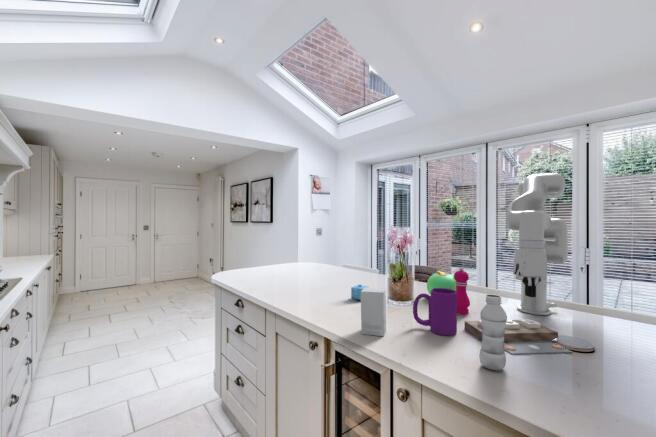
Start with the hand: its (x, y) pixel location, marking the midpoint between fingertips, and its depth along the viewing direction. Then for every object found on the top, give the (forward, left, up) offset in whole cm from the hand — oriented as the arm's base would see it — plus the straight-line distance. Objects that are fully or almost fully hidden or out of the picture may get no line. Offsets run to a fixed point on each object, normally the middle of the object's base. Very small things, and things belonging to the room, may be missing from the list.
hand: (530, 296), depth 111 cm
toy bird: (+10, -46, -14) cm, 49 cm away
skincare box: (+56, -5, -14) cm, 58 cm away
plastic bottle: (+29, +23, -14) cm, 39 cm away
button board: (+8, 0, -14) cm, 16 cm away
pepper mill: (+12, -26, -14) cm, 32 cm away
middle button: (+8, 0, -12) cm, 14 cm away
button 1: (+16, 0, -12) cm, 20 cm away
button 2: (0, 0, -12) cm, 12 cm away
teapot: (+53, -49, -14) cm, 74 cm away
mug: (+33, -6, -14) cm, 36 cm away
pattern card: (+8, +12, -14) cm, 20 cm away
